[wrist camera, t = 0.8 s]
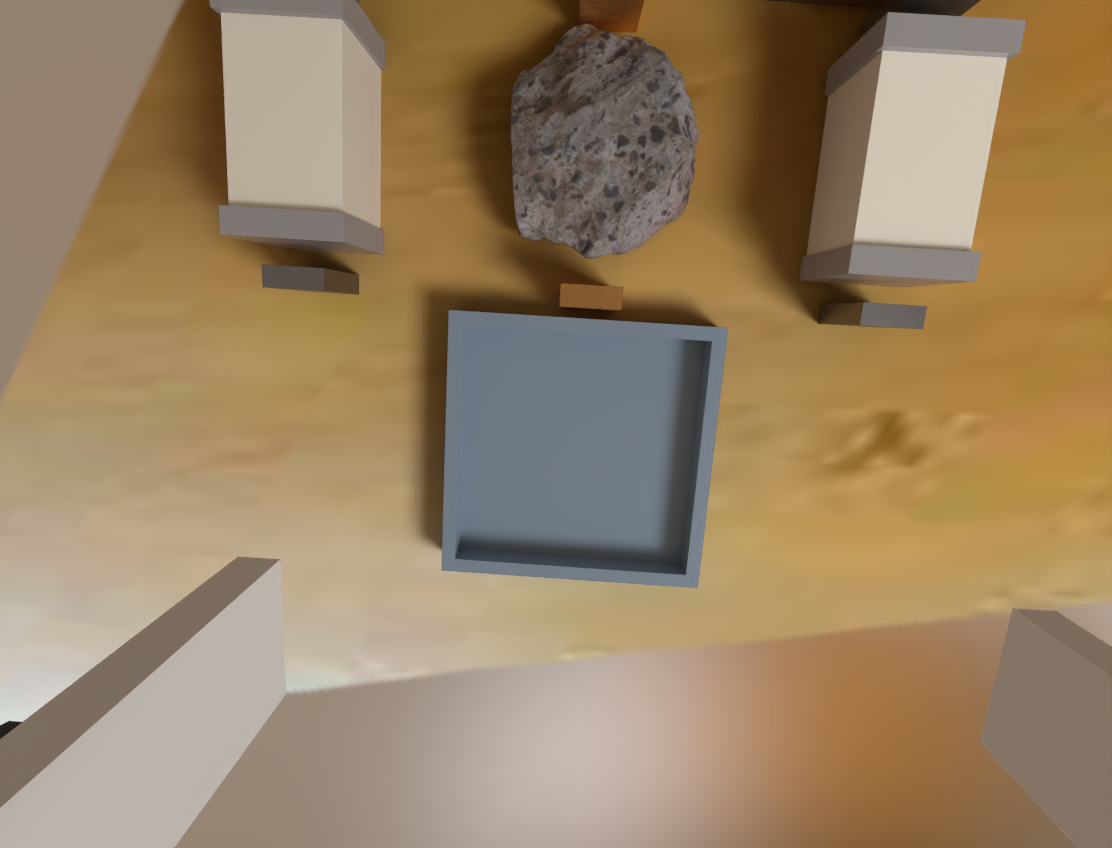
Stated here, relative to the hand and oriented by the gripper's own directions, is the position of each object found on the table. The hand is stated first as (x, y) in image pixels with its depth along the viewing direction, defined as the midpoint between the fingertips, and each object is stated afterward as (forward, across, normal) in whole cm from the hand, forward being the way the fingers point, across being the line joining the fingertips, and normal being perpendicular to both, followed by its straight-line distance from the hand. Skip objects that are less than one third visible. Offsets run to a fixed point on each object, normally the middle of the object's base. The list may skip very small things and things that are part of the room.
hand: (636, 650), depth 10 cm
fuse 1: (+22, -14, +13) cm, 29 cm away
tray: (+21, -1, -2) cm, 21 cm away
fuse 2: (+22, +13, +13) cm, 28 cm away
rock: (+22, -1, +13) cm, 26 cm away
